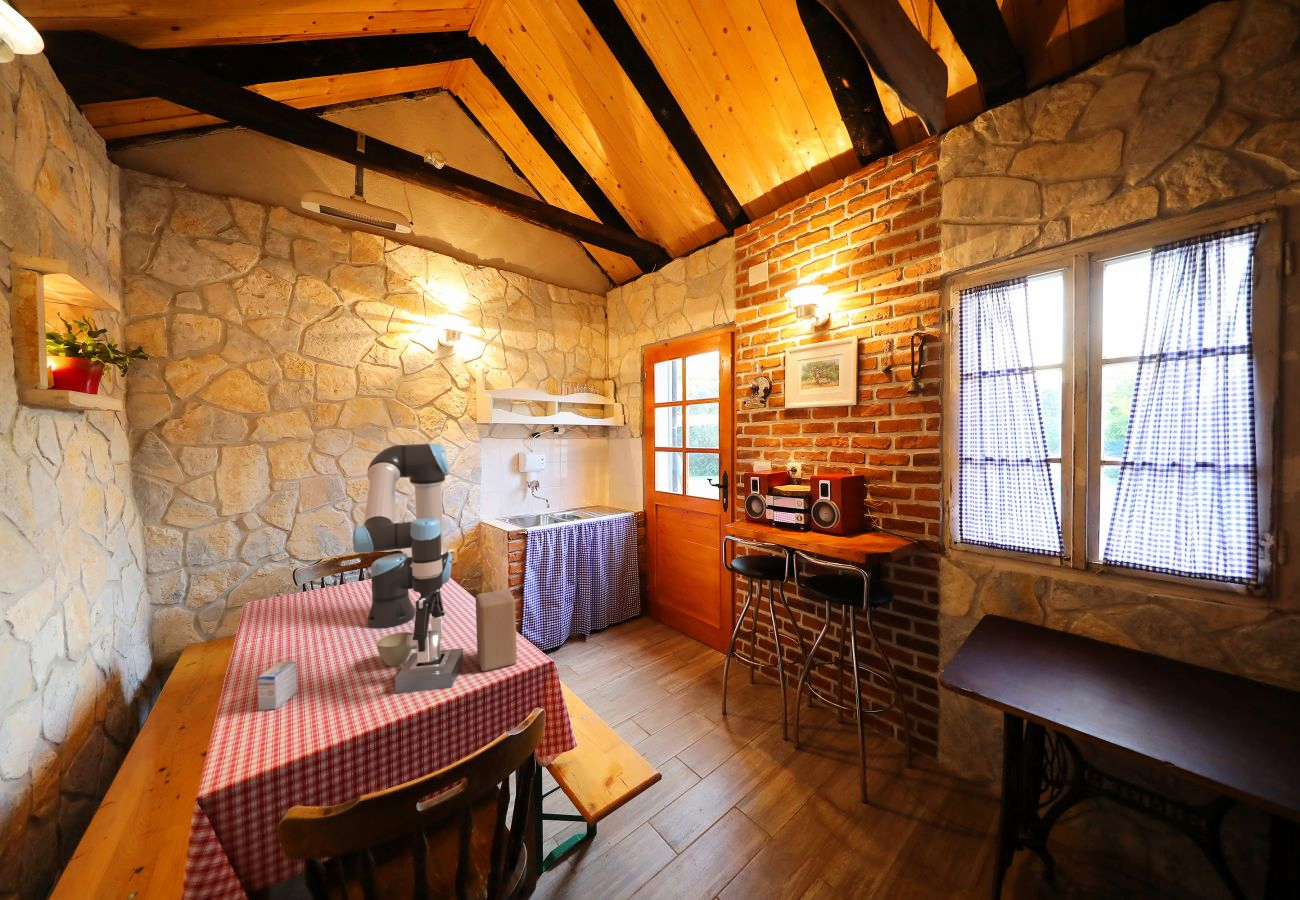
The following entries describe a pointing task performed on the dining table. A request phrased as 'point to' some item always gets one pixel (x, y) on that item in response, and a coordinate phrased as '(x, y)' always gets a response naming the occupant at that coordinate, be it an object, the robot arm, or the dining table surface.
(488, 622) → the block
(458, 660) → the duct socket
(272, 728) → the dining table surface
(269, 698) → the medicine box
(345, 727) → the dining table surface
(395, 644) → the flower pot
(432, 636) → the elbow
